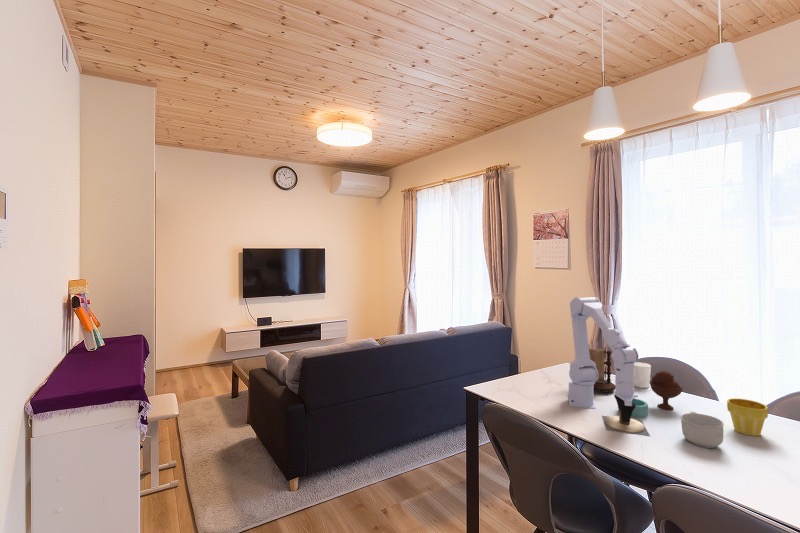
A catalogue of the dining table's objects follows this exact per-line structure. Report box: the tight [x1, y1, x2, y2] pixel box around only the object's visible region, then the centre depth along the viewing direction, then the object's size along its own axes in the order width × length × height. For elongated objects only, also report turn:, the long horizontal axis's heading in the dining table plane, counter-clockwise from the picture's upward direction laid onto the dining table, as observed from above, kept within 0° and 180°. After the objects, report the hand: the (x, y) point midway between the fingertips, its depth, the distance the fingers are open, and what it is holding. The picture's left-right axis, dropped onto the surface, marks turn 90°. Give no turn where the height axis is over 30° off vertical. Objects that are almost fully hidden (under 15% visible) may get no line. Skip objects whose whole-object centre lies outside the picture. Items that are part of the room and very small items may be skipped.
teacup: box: [680, 411, 725, 449], centre depth 124 cm, size 14×11×8 cm
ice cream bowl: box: [649, 370, 684, 412], centre depth 152 cm, size 11×11×15 cm
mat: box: [601, 415, 651, 437], centre depth 136 cm, size 13×13×1 cm
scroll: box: [583, 346, 615, 395], centre depth 175 cm, size 15×15×20 cm
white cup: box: [634, 361, 652, 389], centre depth 179 cm, size 8×8×10 cm
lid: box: [605, 409, 646, 434], centre depth 136 cm, size 12×12×5 cm
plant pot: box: [726, 398, 769, 437], centre depth 131 cm, size 10×10×10 cm
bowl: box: [631, 397, 649, 419], centre depth 147 cm, size 9×9×4 cm
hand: (624, 419), depth 136 cm, fingers open, 5 cm apart
